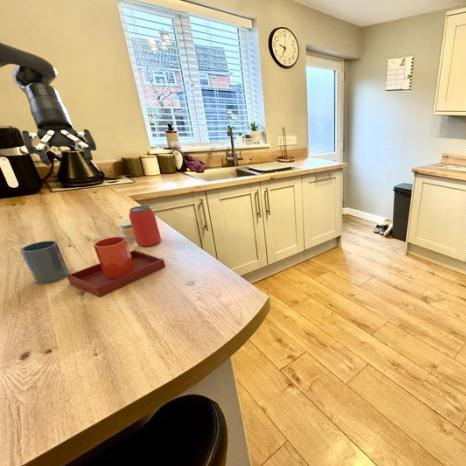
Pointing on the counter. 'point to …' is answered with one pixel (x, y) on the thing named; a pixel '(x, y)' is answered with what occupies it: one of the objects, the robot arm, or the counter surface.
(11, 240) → the counter surface
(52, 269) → the blue cup
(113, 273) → the red cup
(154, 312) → the counter surface
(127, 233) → the stacked layers on plate
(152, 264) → the red tray
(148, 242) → the beer can
